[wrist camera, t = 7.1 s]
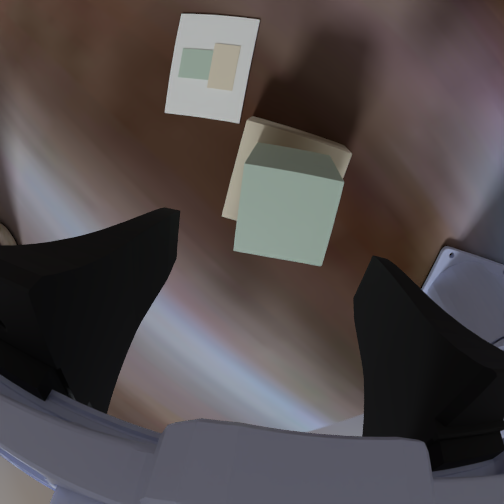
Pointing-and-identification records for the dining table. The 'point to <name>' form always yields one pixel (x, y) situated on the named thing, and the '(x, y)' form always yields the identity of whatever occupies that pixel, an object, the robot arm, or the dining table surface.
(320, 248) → the sage block
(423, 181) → the dining table surface
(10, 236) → the stacking toy
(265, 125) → the maple base
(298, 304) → the dining table surface
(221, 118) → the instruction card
